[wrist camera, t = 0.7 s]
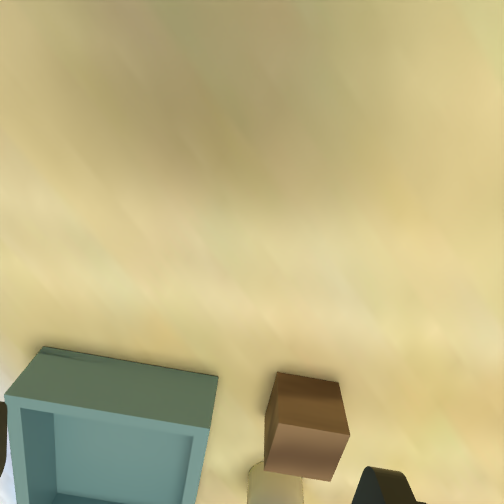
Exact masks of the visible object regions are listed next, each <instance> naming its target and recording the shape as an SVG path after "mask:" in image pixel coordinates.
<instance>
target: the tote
mask: <svg viewBox="0 0 504 504" xmlns="http://www.w3.org/2000/svg"><path fill="white" fill-rule="evenodd" d="M217 383H218V377H217V376H211V375H205V374H199V373H193V372H188V371H182V370H176V369H170V368H165V367H159V366H153V365H147V364H142V363H136V362H130V361H124V360H119V359H113V358H107V357H101V356H96V355H90V354H84V353H78V352H73V351H67V350H61V349H55V348H50V347H44V346H43V348H42V349H41V350H40V351H39V353H38V354H37V355H36V356H35V357H34V359H33V360H32V361H31V362H30V363H29V365H28V366H27V367H26V368H25V370H24V371H23V372H22V373H21V374H20V376H19V377H18V378H17V379H16V381H15V382H14V383H13V384H12V385H11V387H10V388H9V389H8V390H7V392H6V393H5V394H4V398H5V403H6V405H7V409H8V415H7V424H8V432H9V441H10V449H11V458H12V466H13V475H14V483H15V492H16V500H17V504H195V501H196V496H197V491H198V486H199V481H200V476H201V471H202V466H203V461H204V456H205V451H206V446H207V441H208V436H209V431H210V426H211V420H212V413H213V407H214V401H215V395H216V389H217Z"/></svg>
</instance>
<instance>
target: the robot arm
mask: <svg viewBox="0 0 504 504" xmlns="http://www.w3.org/2000/svg"><path fill="white" fill-rule="evenodd" d="M7 415H8V409H7V405H6V403H5V402H1V401H0V477H1V474H2V472H3V469H4V466H5V462H6V451H7ZM352 504H426V503H423V502H417V501H416V499H415V497H414V495H413V492H412V490H411V488H410V486H409V483H408V481H407V479H406V477H405V476H404V474H403V473H401V472H399V471H393V470H387V469H382V468H376V467H370V466H367V467H366V468H365V469H364V471H363V473H362V476H361V478H360V481H359V484H358V487H357V490H356V492H355V495H354V498H353V501H352Z"/></svg>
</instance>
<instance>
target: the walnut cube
mask: <svg viewBox="0 0 504 504" xmlns="http://www.w3.org/2000/svg"><path fill="white" fill-rule="evenodd" d="M349 437H350V432H349V427H348V423H347V418H346V414H345V409H344V405H343V400H342V396H341V391H340V387H339V383H338V382H332V381H326V380H320V379H315V378H309V377H303V376H298V375H292V374H286V373H281V372H277V375H276V379H275V382H274V386H273V389H272V393H271V396H270V400H269V403H268V407H267V410H266V414H265V433H264V471H269V472H275V473H281V474H287V475H293V476H299V477H305V478H311V479H317V480H323V481H329V482H330V481H331V479H332V477H333V474H334V472H335V470H336V467H337V465H338V463H339V460H340V458H341V456H342V453H343V451H344V449H345V446H346V444H347V442H348V439H349Z"/></svg>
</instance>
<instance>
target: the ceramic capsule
mask: <svg viewBox="0 0 504 504" xmlns="http://www.w3.org/2000/svg"><path fill="white" fill-rule="evenodd" d="M247 504H304V497H303V485H302V477H299V476H293V475H287V474H281V473H275V472H269V471H264V461H262V462H260V463H258V464H256V465H255V466H253V467H252V468H251V470H250V471H249V474H248V491H247Z"/></svg>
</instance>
